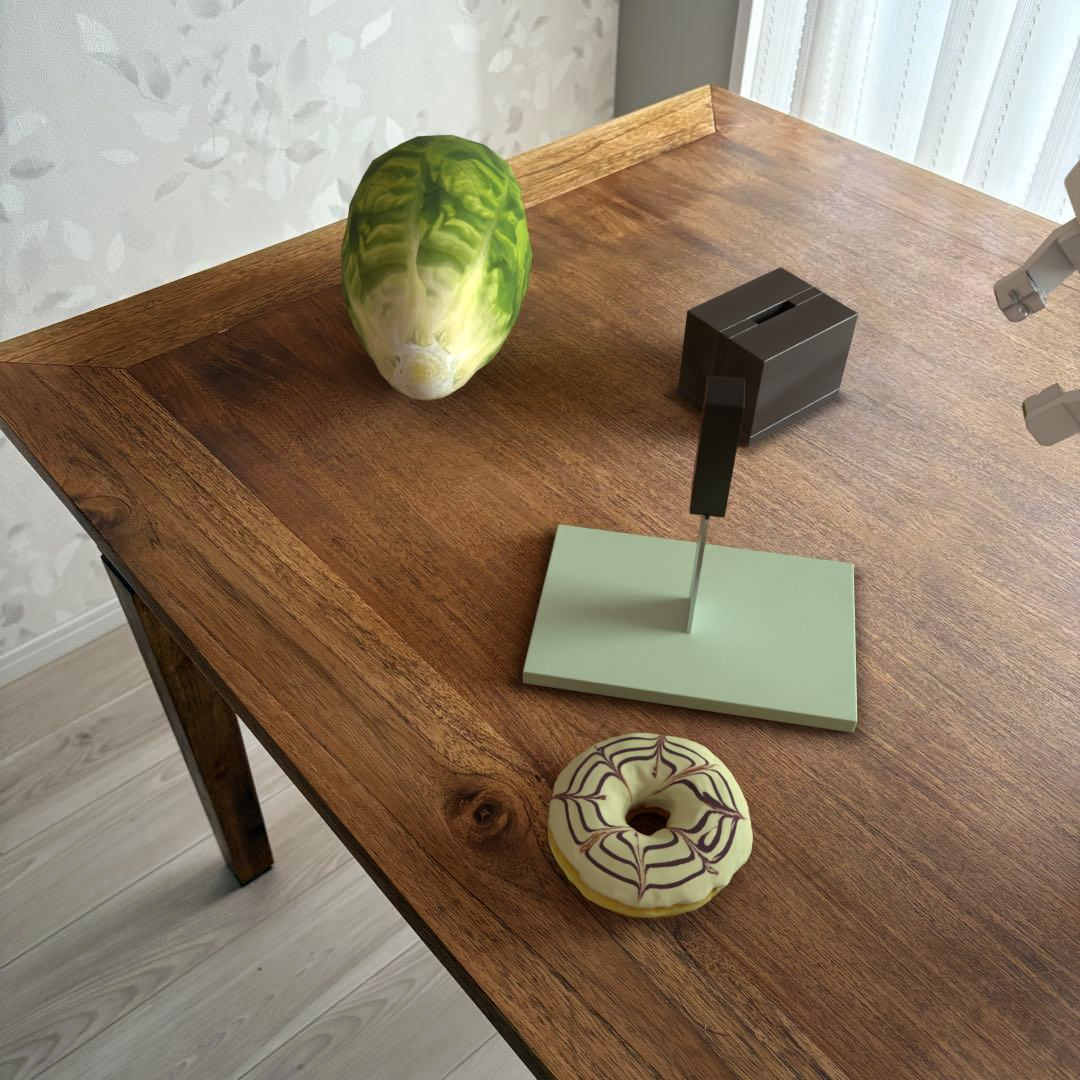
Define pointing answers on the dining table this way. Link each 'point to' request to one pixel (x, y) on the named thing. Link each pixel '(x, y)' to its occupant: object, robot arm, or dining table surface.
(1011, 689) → the dining table surface
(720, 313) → the knife block
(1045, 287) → the robot arm
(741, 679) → the cutting board
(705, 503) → the knife
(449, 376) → the lettuce
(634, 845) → the decorated donut
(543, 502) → the dining table surface
